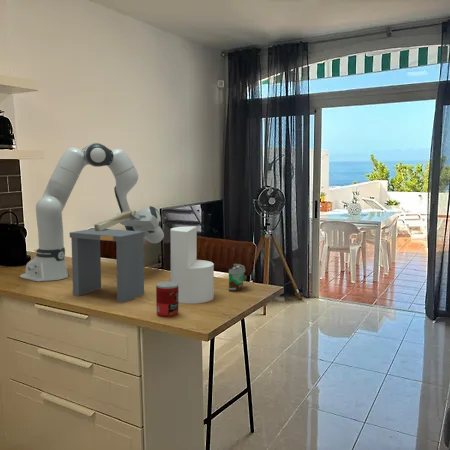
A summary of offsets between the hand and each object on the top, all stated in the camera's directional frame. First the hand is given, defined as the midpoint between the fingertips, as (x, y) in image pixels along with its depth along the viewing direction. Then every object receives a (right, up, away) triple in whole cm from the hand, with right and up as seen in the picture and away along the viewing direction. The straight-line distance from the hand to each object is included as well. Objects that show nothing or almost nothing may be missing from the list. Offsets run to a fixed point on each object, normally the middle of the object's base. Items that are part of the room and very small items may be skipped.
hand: (127, 212), depth 205 cm
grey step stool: (-4, -34, -19) cm, 39 cm away
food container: (+50, -34, -8) cm, 61 cm away
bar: (-3, -4, -7) cm, 9 cm away
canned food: (+24, -38, -44) cm, 62 cm away
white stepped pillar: (+31, -35, -22) cm, 52 cm away
